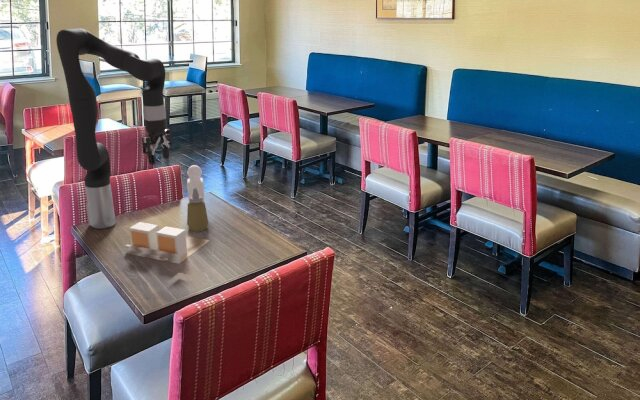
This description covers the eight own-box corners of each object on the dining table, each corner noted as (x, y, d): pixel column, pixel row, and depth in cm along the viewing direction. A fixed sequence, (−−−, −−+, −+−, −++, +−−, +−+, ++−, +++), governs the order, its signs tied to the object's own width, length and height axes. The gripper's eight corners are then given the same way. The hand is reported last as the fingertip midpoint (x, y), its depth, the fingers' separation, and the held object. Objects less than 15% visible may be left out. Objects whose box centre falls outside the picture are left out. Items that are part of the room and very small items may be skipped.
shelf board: (125, 257, 193) (124, 245, 191) (160, 234, 211) (159, 224, 209) (179, 268, 186) (178, 256, 184) (210, 243, 204) (209, 232, 202)
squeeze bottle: (204, 236, 209) (200, 192, 203) (184, 234, 211) (180, 191, 204) (212, 228, 217) (209, 185, 210) (193, 226, 218) (189, 184, 212)
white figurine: (205, 217, 227) (202, 167, 219) (189, 218, 225) (185, 168, 217) (205, 211, 233) (202, 162, 225) (190, 212, 231) (186, 163, 223)
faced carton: (142, 244, 199) (139, 221, 196) (160, 248, 197) (158, 225, 193) (131, 251, 194) (128, 228, 191) (150, 255, 191) (147, 231, 188)
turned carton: (168, 249, 196) (165, 226, 193) (187, 252, 193) (185, 229, 190) (158, 256, 191) (155, 232, 187) (177, 260, 188) (175, 236, 185)
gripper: (158, 112, 200) (162, 154, 206) (133, 120, 188) (138, 165, 194) (175, 114, 198) (179, 157, 204) (151, 122, 186) (156, 167, 191)
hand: (159, 161), depth 199 cm, fingers open, 8 cm apart
